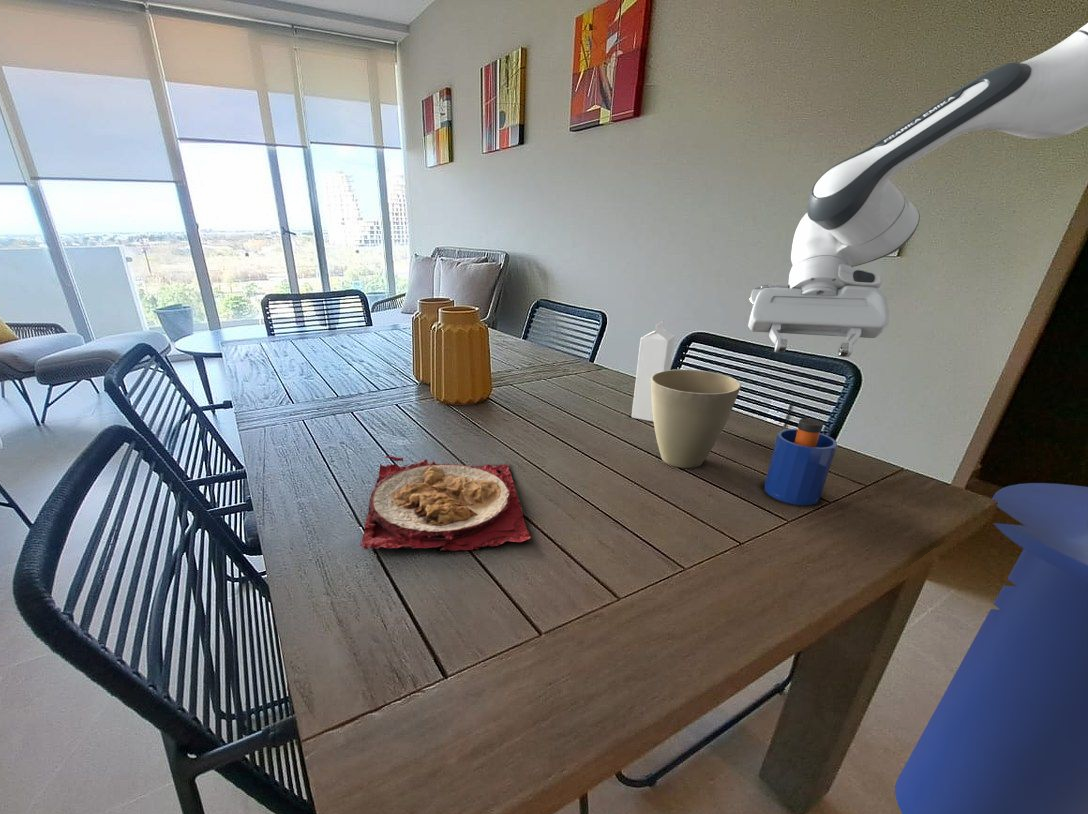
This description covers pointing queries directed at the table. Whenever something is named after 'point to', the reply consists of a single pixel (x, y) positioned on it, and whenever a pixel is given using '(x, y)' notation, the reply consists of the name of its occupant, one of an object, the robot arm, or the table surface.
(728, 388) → the plant pot
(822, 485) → the cup
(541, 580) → the table surface
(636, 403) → the milk
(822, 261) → the robot arm
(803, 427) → the orange tube bottle
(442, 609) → the table surface
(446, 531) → the plate with food
